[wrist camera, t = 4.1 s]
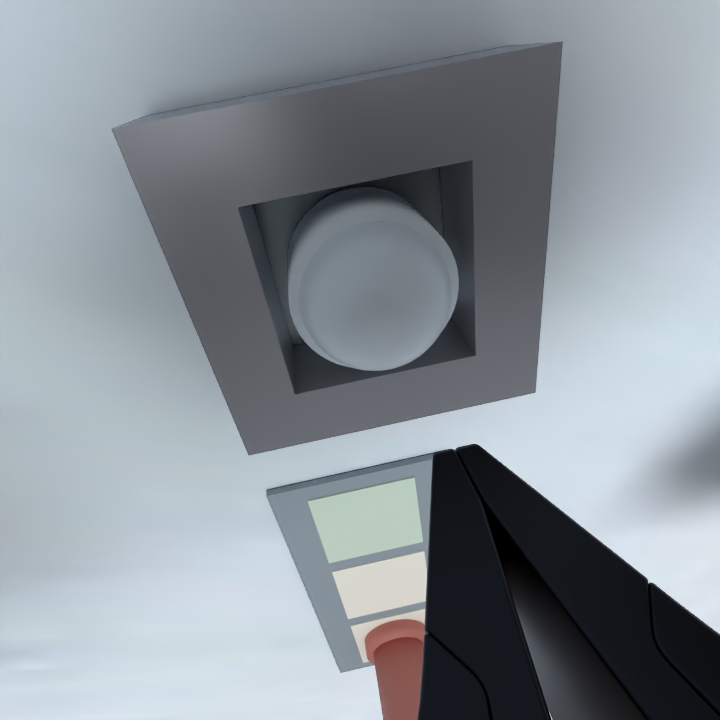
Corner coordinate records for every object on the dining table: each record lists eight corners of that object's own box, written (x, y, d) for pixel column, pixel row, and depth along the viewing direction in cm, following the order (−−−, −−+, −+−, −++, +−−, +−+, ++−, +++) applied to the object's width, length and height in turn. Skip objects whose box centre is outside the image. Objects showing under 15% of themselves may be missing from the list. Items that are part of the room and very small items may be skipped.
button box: (253, 401, 21) (248, 455, 18) (145, 115, 15) (111, 129, 12) (501, 348, 22) (535, 392, 19) (508, 45, 15) (562, 41, 12)
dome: (305, 340, 19) (313, 425, 14) (269, 204, 16) (265, 259, 11) (437, 312, 19) (484, 388, 15) (428, 172, 16) (484, 214, 11)
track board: (340, 667, 37) (340, 674, 36) (266, 490, 25) (266, 497, 24) (459, 639, 37) (461, 645, 37) (446, 450, 25) (449, 457, 24)
